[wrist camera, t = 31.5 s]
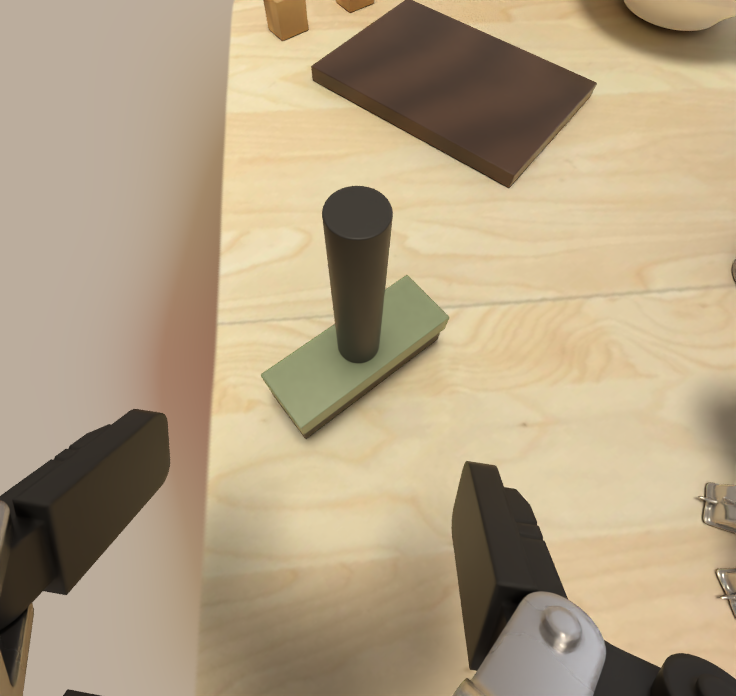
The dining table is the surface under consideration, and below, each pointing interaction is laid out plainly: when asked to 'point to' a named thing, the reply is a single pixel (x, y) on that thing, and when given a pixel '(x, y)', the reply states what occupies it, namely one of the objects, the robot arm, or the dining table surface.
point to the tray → (456, 88)
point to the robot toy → (728, 512)
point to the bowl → (683, 12)
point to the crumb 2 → (354, 4)
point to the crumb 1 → (286, 17)
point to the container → (734, 270)
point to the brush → (355, 317)
